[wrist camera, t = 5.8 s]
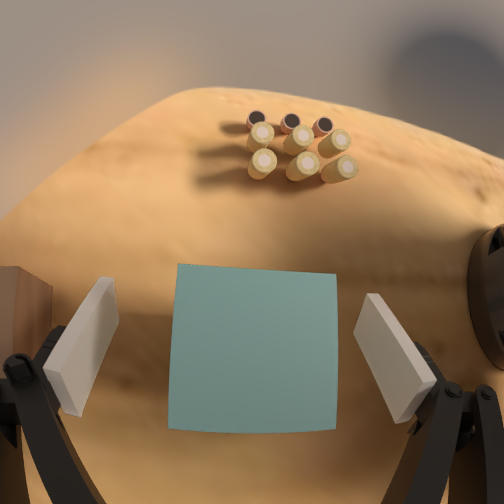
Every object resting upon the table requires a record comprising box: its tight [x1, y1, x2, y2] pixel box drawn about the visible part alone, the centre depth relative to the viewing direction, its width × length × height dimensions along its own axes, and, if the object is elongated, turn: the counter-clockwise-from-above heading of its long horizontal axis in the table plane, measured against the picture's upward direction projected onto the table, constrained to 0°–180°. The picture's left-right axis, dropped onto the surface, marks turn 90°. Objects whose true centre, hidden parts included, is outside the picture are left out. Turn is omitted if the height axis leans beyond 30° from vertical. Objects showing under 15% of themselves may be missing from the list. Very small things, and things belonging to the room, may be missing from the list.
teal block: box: [168, 264, 338, 433], centre depth 14 cm, size 5×5×11 cm
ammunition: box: [246, 110, 358, 184], centre depth 23 cm, size 5×7×8 cm
